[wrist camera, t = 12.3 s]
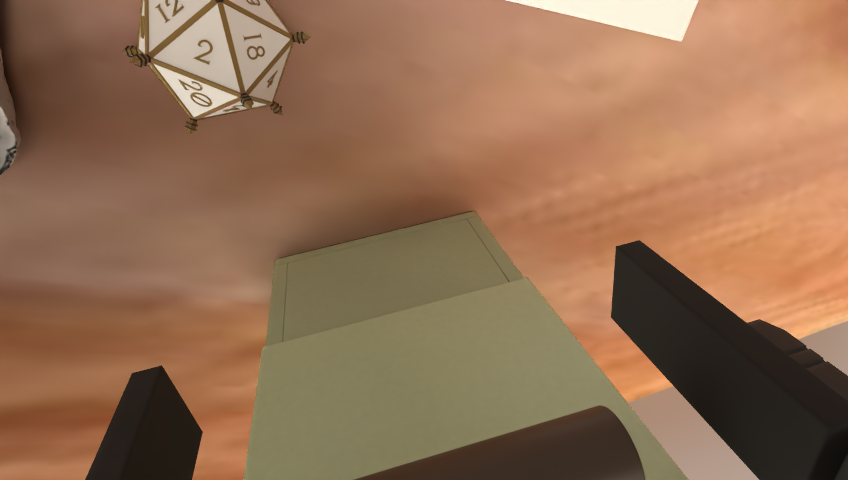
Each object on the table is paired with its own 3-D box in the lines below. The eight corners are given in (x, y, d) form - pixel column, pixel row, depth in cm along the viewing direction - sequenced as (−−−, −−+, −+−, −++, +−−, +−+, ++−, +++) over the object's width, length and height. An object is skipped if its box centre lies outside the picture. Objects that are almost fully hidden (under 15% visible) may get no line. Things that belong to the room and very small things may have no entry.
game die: (264, 47, 32) (326, 151, 28) (124, 67, 28) (175, 190, 24) (255, -101, 25) (338, 13, 21) (66, -100, 21) (125, 38, 17)
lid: (786, 626, 13) (864, 447, 9) (205, 846, 11) (29, 729, 8) (528, 288, 29) (521, 172, 25) (267, 358, 27) (218, 244, 23)
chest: (491, 362, 46) (533, 449, 37) (331, 407, 44) (337, 509, 36) (474, 210, 37) (525, 278, 29) (274, 259, 36) (265, 347, 27)
